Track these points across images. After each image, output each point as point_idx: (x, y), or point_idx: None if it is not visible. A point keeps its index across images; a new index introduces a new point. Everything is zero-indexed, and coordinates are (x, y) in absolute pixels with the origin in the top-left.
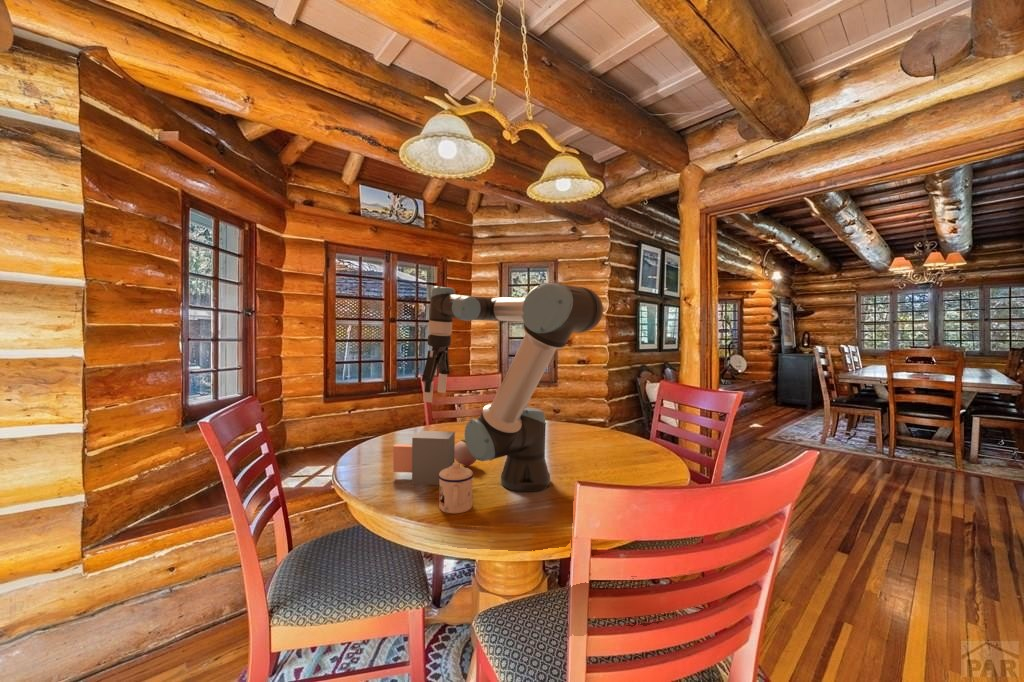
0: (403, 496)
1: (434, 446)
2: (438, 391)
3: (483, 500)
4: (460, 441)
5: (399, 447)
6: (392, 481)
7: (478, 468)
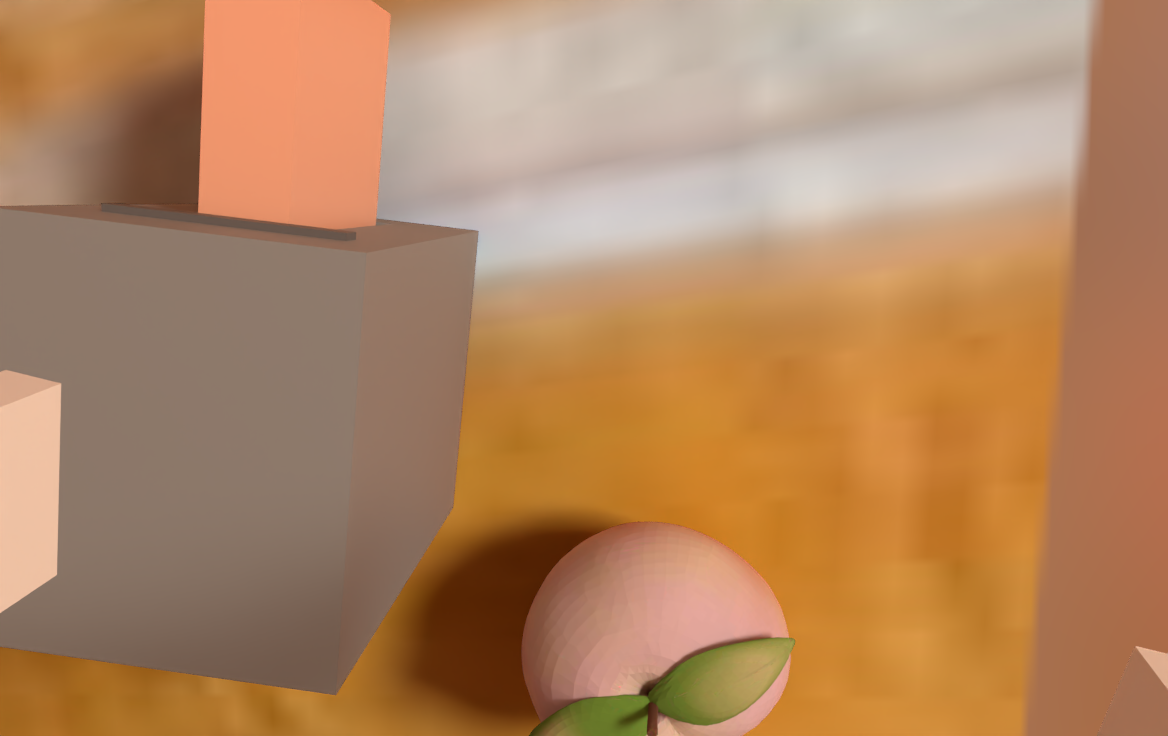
0: (10, 189)
1: None
2: (1133, 687)
3: (4, 714)
4: (677, 644)
5: (211, 24)
6: None
7: None
